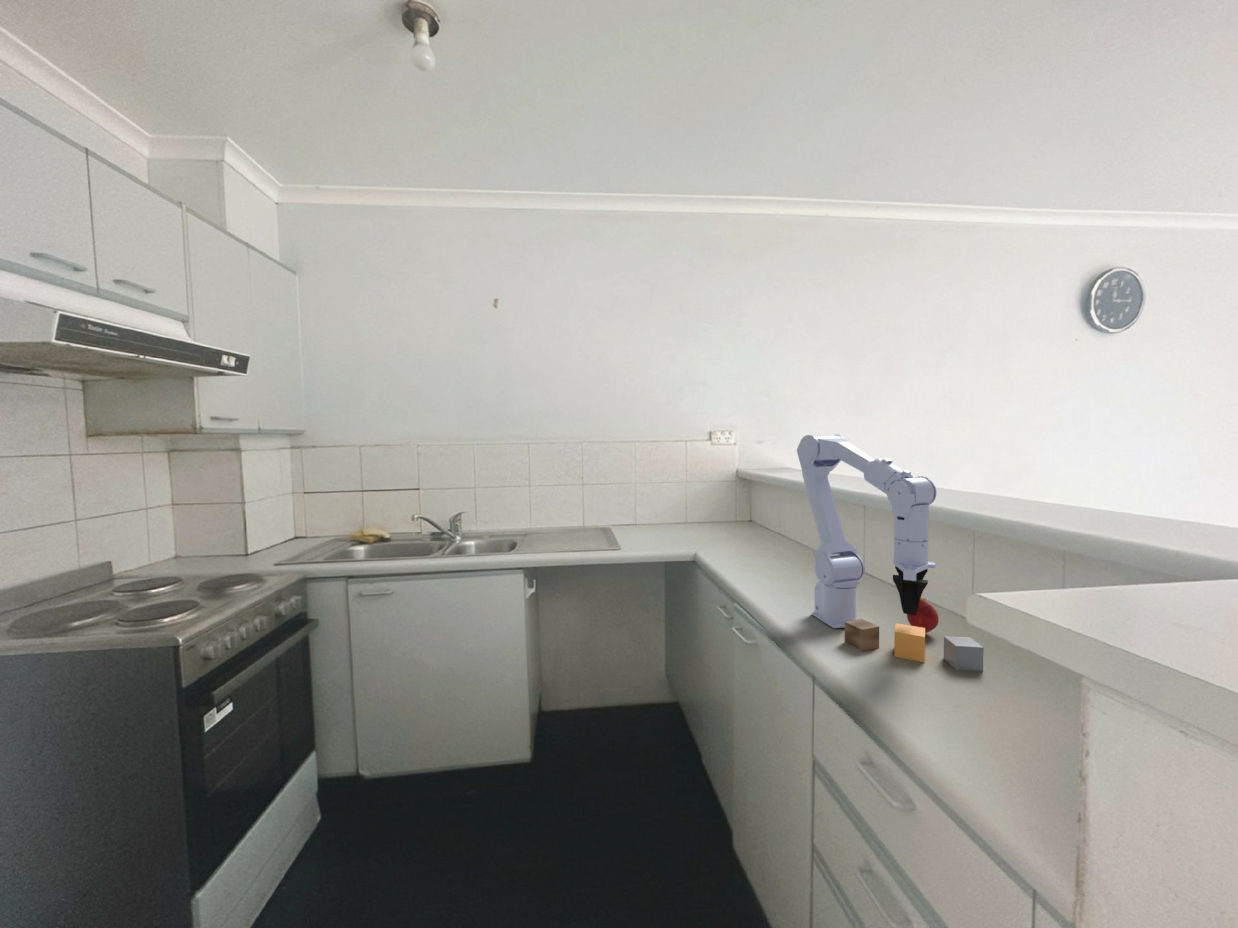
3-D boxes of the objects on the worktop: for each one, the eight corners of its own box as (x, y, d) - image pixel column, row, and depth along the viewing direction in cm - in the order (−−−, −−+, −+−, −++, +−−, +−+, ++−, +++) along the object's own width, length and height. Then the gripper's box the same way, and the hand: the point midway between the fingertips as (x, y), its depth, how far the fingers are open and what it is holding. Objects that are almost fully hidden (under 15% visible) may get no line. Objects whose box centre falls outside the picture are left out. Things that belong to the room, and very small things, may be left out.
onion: (943, 640, 100) (944, 602, 99) (913, 638, 101) (913, 601, 100) (931, 629, 105) (931, 593, 105) (902, 627, 106) (902, 592, 106)
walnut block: (844, 642, 100) (844, 621, 99) (861, 639, 101) (861, 618, 101) (861, 651, 95) (862, 629, 95) (879, 647, 97) (879, 626, 97)
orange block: (895, 647, 97) (895, 623, 97) (924, 652, 94) (925, 627, 94) (894, 656, 93) (894, 631, 93) (924, 662, 90) (925, 636, 90)
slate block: (943, 658, 92) (943, 635, 91) (969, 660, 91) (970, 637, 90) (955, 669, 87) (955, 645, 87) (983, 671, 86) (983, 647, 86)
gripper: (936, 548, 84) (935, 623, 85) (934, 534, 96) (934, 600, 97) (890, 544, 88) (890, 616, 89) (894, 531, 100) (894, 594, 101)
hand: (910, 607), depth 93 cm, fingers open, 7 cm apart
